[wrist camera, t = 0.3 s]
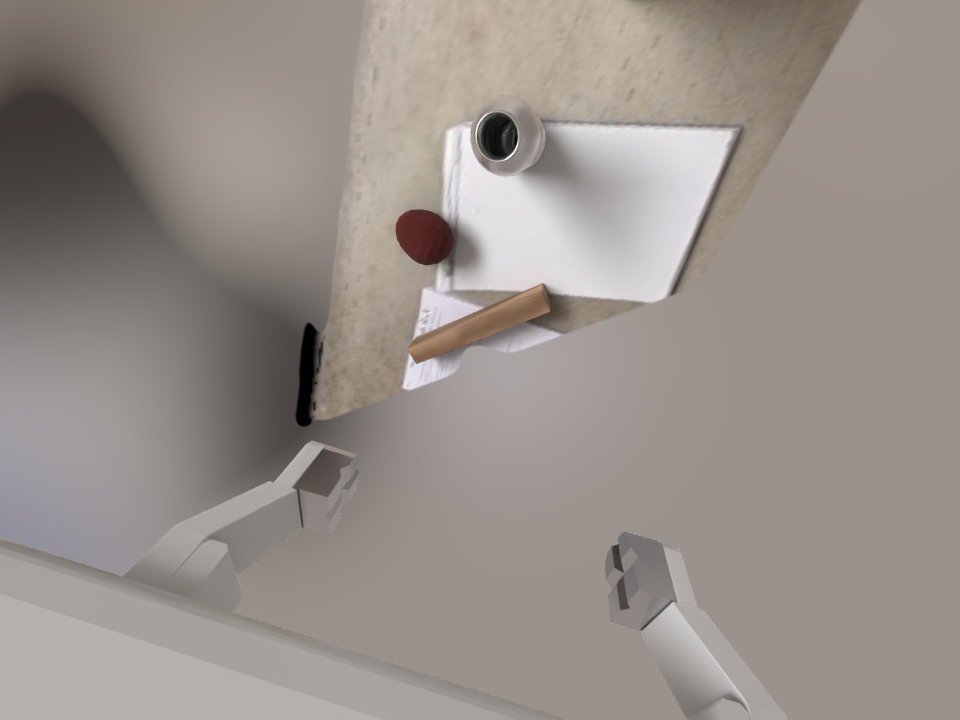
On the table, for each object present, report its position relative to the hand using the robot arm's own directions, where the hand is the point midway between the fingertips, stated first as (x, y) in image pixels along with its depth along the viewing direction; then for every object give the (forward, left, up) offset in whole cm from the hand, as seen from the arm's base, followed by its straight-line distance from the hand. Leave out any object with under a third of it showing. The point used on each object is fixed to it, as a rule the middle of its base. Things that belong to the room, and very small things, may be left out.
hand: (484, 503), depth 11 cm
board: (+17, -5, -46) cm, 50 cm away
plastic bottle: (-9, -6, -47) cm, 48 cm away
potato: (+6, -15, -47) cm, 50 cm away
